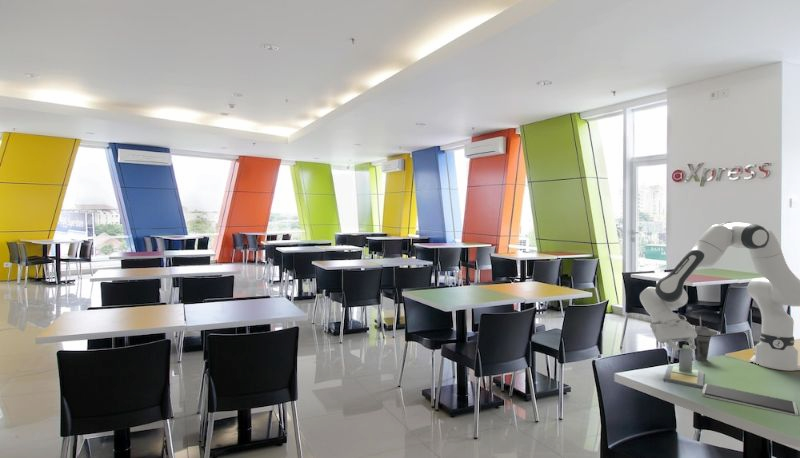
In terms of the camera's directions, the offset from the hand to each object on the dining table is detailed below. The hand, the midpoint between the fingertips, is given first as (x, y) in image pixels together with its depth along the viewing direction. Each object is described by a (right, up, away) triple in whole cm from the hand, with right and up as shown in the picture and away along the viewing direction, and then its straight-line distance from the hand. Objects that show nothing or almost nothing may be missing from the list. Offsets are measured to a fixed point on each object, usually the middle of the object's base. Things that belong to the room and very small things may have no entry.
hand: (685, 349), depth 195 cm
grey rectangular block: (0, -9, 0) cm, 9 cm away
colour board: (-3, -10, -5) cm, 11 cm away
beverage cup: (+21, -11, +23) cm, 33 cm away
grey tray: (+5, -12, -28) cm, 31 cm away
